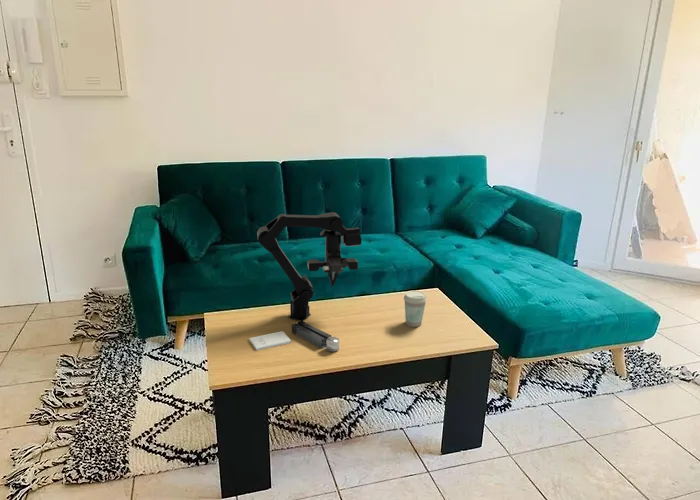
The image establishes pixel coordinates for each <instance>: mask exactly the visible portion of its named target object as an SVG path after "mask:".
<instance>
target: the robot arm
mask: <svg viewBox="0 0 700 500" xmlns="http://www.w3.org/2000/svg"><path fill="white" fill-rule="evenodd" d="M286 227H294V228H296V227H297V228H298V227H301V228H318V229H322V231H320V233H319V234H320V236H321V237H325V240H324V241H325V243H324V244H325V246H324V247H325V253H324V254H325V255H324V256H325V257H324V259H325V261H319V259H318V258H317V259H308V260H307V269H308V270H307V271H309V272H317V271H319V270H320V268H321V269H322V270H323V273H326V274H327V276H328V278H329V282H330V285H331V287H334V286H335V283H336V282H337V281H336V280H337V278H338V276H339V274H341V273H343V271H344V269H345V268H348V269H349V270H350V271H351V270H352V271H354V270H359V261H358V260H357V258H355V257H342V254H341V248H342V247H341V246H342V245H341V244H343V245H344V246H345V247H358V246H362V235H361V228H360V227H353V228H352V227H351V228H346V227H345V226H344V225H343V220H342V218H341V217H340V216H339V214H338V213H337V212H332V211H331V212H324V213H320V214H317V215H316V214H315V215H313V214H310V215H309V214H307V215H306V214H285V213H280V214H278V216H276V217H275V218H274V219H272V220H271V221H269V222H268V223H267V224H266V225H264V226H261V227H259V228H258V229H257V232H256V236H257V240H258V243H259V244H260V245H261V246H262V247H263V248H264V249H265V250H266V251H267V252H268V253H270V254H271V255H272V256H273V258H274V259H275V260H276V262H277V264H278V265H279V266H280V268H281V269H282V270H283V271H284V273H285V275H286V276H287V277H288V279H289V280H290V282H291V283H292V285H293V287H294V289H293V290H292V291H291V292H290V293H289V294H290V297H291V300H290V301H289V303H290V306H289V307H290V309H289V310H290V311H289V312H290V313H289V315H288V319H293V320H297V321H300V320H302V321H306V319H308V318H309V317H310V316H311V314H312V313H310V305H309V302H310V300H311V299H312V298H313V295H314V287H313V284H312V282H311V281H310V280H309V279H308V278H307V275H306V274H303V276H302V275H301V274H300V273H299V272H298V271H297V270H296V268H295V266H294V265H293V264H292V262H291V261H290V259H289V258H288V257H287V255H286V253H285V252H284V250H282V248H281V247H280V245H279V242H278V240H277V237H279V235H280V234H281V233H282V231H283V230H284V229H285V228H286Z"/></svg>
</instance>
